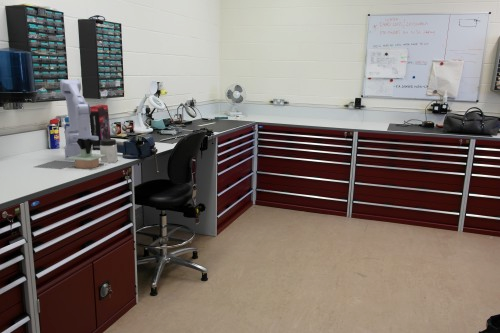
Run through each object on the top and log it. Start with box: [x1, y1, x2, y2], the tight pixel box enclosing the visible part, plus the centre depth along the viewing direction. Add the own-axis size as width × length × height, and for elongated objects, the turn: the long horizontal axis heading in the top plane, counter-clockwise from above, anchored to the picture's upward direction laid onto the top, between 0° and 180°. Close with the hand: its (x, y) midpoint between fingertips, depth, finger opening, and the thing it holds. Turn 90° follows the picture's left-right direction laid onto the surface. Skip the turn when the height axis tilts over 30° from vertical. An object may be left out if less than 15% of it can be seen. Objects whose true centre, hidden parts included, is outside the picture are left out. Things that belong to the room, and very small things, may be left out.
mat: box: [34, 160, 75, 170], centre depth 218 cm, size 17×17×1 cm
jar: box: [99, 138, 118, 164], centre depth 227 cm, size 9×8×12 cm
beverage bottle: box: [63, 116, 78, 145], centre depth 265 cm, size 8×8×20 cm
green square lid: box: [66, 148, 106, 161], centre depth 215 cm, size 14×14×5 cm
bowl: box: [74, 158, 100, 169], centre depth 216 cm, size 11×11×4 cm
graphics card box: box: [89, 104, 112, 151], centre depth 266 cm, size 17×7×27 cm, turn 179°
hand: (86, 153), depth 215 cm, fingers closed on green square lid
